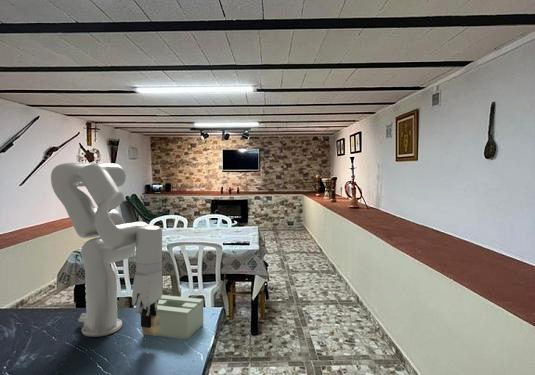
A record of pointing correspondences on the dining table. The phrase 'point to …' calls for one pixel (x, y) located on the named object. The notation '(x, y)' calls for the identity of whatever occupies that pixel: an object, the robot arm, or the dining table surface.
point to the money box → (179, 316)
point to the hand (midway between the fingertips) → (148, 324)
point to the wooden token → (152, 326)
